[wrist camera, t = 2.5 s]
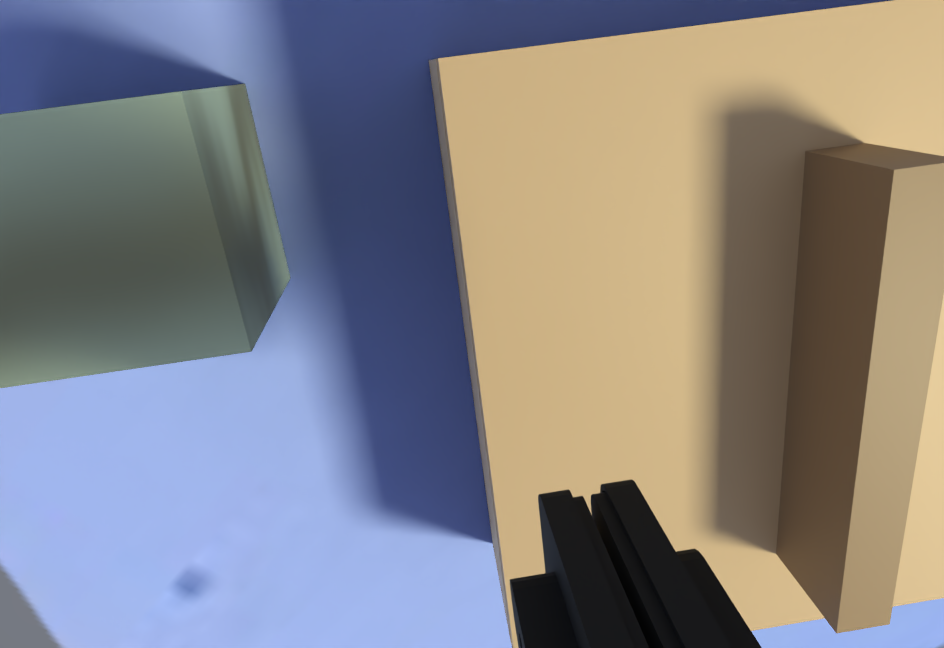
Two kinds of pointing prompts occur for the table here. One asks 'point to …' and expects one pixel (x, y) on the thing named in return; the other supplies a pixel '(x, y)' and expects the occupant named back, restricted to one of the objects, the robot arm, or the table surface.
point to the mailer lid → (718, 295)
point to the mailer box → (465, 314)
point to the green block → (134, 235)
